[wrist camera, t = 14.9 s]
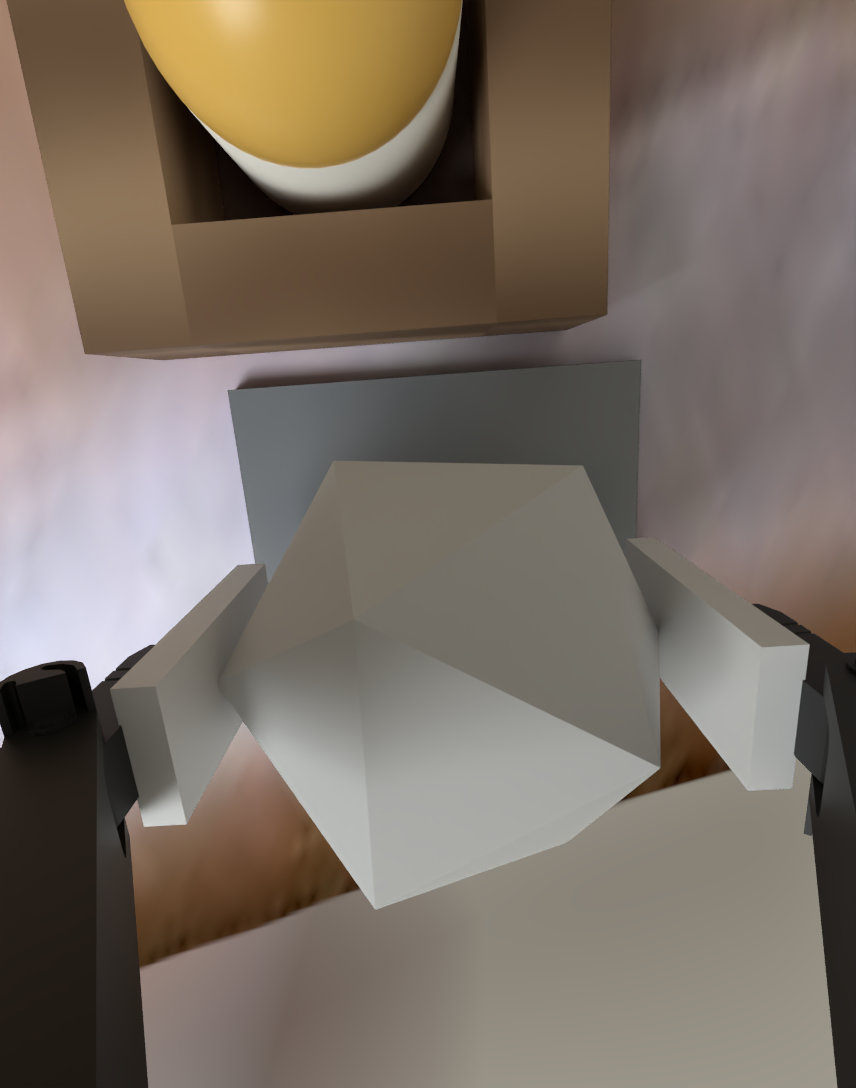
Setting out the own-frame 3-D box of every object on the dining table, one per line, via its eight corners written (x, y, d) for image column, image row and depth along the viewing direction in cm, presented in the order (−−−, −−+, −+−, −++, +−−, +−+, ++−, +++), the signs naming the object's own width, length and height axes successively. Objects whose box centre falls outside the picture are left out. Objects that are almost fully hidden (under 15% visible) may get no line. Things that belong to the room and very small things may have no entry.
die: (290, 421, 16) (33, 777, 10) (614, 298, 11) (512, 863, 5) (439, 607, 21) (330, 924, 14) (711, 579, 16) (722, 1044, 10)
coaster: (234, 389, 17) (227, 390, 17) (633, 360, 17) (641, 359, 16) (288, 735, 21) (284, 745, 20) (624, 715, 20) (630, 724, 20)
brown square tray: (64, -161, 14) (-76, -370, 10) (563, -208, 14) (617, -441, 10) (162, 360, 17) (85, 354, 13) (566, 329, 17) (607, 314, 13)
